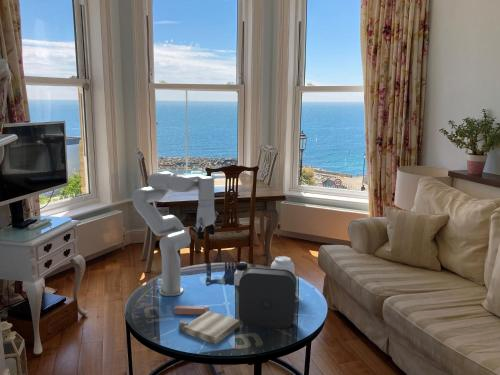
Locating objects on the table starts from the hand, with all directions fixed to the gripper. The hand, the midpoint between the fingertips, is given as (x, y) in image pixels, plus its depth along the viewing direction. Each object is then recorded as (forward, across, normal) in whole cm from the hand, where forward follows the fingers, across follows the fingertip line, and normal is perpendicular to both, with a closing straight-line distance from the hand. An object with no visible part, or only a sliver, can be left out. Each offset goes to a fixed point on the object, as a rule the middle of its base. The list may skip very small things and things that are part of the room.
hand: (206, 236), depth 213 cm
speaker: (+35, +5, +35) cm, 50 cm away
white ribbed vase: (+35, -28, +29) cm, 54 cm away
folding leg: (+34, +13, 0) cm, 37 cm away
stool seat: (+35, +21, +14) cm, 43 cm away
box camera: (+35, -31, +4) cm, 47 cm away
